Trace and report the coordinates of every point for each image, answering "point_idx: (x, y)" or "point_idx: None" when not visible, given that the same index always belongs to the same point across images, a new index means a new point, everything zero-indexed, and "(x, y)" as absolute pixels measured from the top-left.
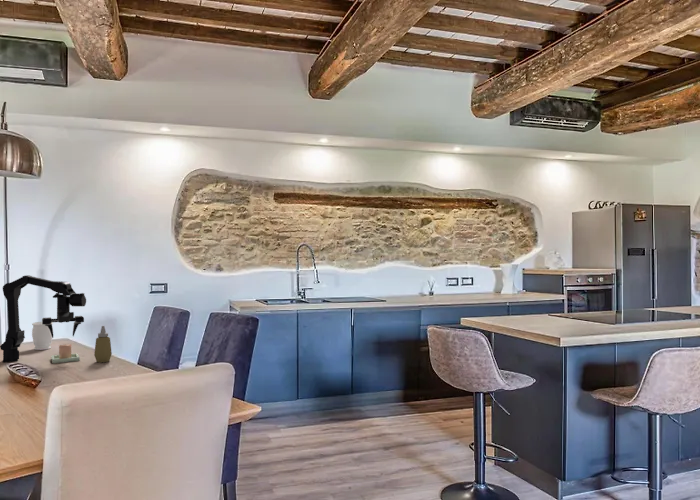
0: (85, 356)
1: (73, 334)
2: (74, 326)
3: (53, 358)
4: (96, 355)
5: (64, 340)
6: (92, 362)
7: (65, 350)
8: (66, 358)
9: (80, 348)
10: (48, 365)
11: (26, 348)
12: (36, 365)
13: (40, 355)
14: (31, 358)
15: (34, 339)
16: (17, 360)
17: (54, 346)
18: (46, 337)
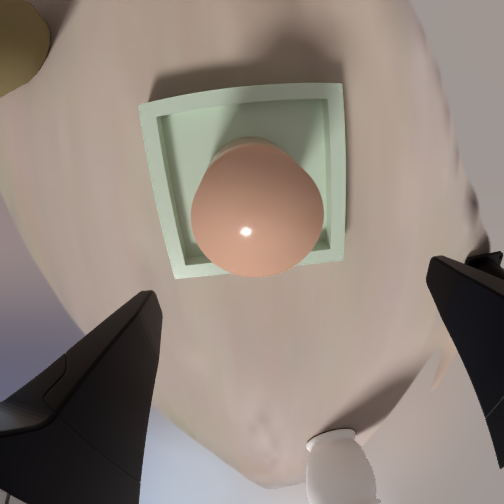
0: (132, 262)
1: (134, 303)
2: (43, 416)
3: (337, 135)
4: (27, 2)
5: (264, 483)
6: (71, 34)
7: (251, 145)
8: (237, 87)
9: (205, 428)
10: (352, 29)
11: (366, 440)
12: (417, 76)
13: (364, 358)
14: (411, 305)
15: (365, 457)
16: (468, 259)
17: (293, 454)
18: (331, 468)
